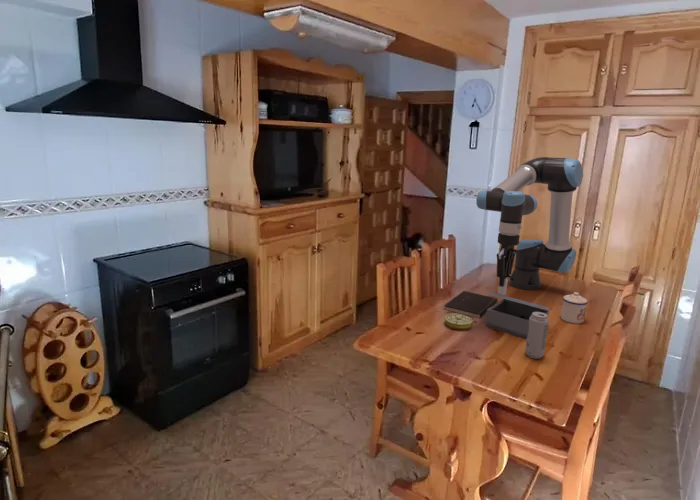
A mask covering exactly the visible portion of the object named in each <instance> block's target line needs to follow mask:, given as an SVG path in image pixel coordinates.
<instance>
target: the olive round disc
mask: <svg viewBox="0 0 700 500" xmlns="http://www.w3.org/2000/svg"><path fill="white" fill-rule="evenodd" d="M444 321H445V322H444V323H445V324H446V325H447V326H448V328H450V329H454V330H457V331H466V330H469V329H470V328H472V326H473V325H474V320H473V318H472V317H471V316H469V315H465V314H461V313H449V314H447V315H446V316H445V317H444Z"/></svg>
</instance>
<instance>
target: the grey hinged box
mask: <svg viewBox="0 0 700 500" xmlns="http://www.w3.org/2000/svg"><path fill="white" fill-rule="evenodd" d="M533 312H542V313H545V314H547V315H548V316H549V312H550V311H548V310H544V309H540V308H536V307H533V306H529V305H525V304H521V303H517V302H514V301H510V300H506V299H502V300H500V301H499V302H497V303H496V304H495V305H494V306H492V307H490V308H489V309H487V312H486V316H485V327H488V328H491V329H494V330H497V331H500V332H502V333H503V332H504V333H507V334H510V335H512V336H516V337H520V338H522V339H526V340H527V333H528V326H529V318H530V316H531V315H532V313H533Z"/></svg>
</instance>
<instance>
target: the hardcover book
mask: <svg viewBox="0 0 700 500" xmlns="http://www.w3.org/2000/svg"><path fill="white" fill-rule="evenodd" d="M497 303H498V297H494V296H490V295H483V294H480V293H479V294H478V293H476V292H475V293H474V292H471V291H465V290H463V291H461V292H460V293H459V294H458V295H456V296H455V297H453V298H452V299H450V301H448V302H446V303H445V304H444V305H443V307H444V310H447V311H449V312H454V313H456V314H463V315H466V316H469V317H474V318H479V319H481V318H482V317H483V316H484V315H485V314H487V309H489V308H490V307H492V306H494V305H495V304H497Z"/></svg>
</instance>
